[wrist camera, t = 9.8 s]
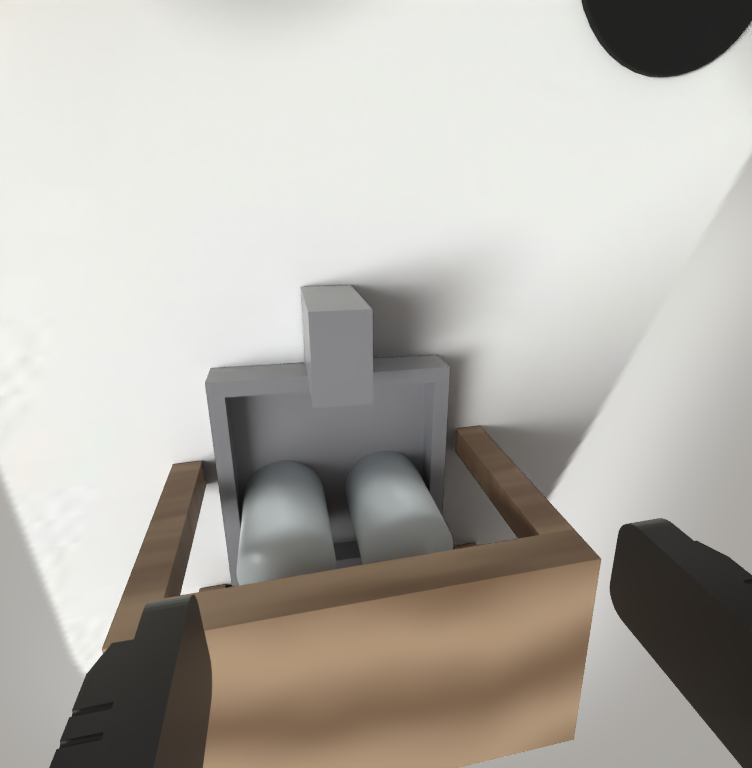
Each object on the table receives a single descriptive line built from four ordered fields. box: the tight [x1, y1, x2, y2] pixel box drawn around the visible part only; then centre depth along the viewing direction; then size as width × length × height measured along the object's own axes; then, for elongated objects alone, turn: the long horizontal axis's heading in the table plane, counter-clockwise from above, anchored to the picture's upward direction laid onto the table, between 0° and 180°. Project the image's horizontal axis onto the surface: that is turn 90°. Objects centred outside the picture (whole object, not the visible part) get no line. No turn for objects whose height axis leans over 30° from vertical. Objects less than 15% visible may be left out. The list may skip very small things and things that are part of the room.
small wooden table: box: [102, 426, 601, 768], centre depth 24 cm, size 10×17×12 cm, turn 93°
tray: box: [205, 285, 453, 586], centre depth 25 cm, size 16×12×7 cm
